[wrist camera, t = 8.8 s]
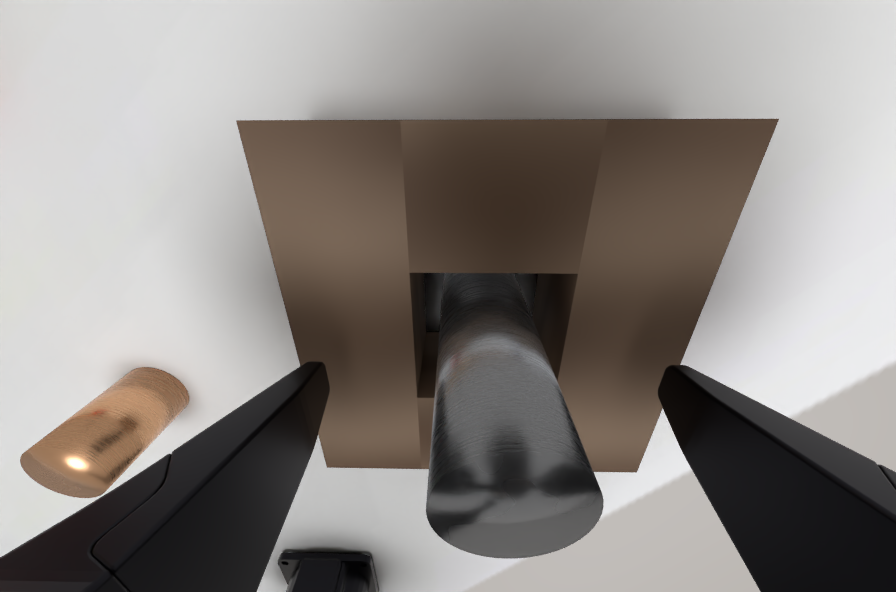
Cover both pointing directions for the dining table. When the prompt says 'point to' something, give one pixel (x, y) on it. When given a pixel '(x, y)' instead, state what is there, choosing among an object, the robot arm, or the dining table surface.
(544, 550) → the long pin
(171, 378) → the short pin
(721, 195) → the hole block
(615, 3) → the dining table surface
